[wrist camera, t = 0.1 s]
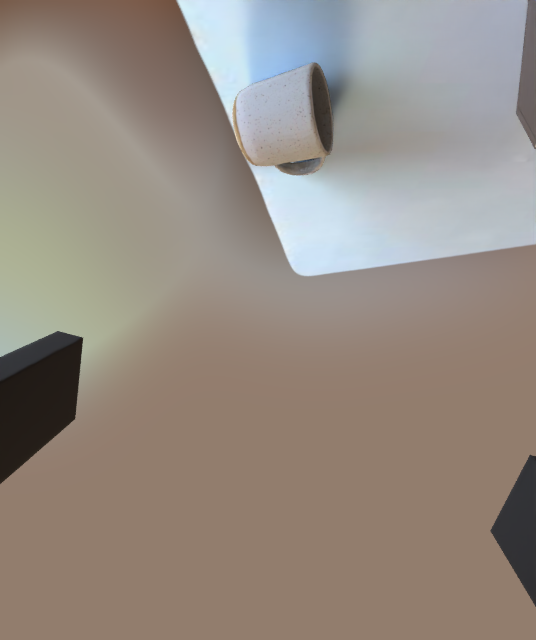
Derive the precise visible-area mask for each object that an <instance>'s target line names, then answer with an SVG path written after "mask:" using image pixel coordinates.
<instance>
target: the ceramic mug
mask: <svg viewBox="0 0 536 640" xmlns="http://www.w3.org/2000/svg"><path fill="white" fill-rule="evenodd" d="M232 117H233V126H234V132H235V135H236V139H237V142H238V145H239V147H240V149H241V151H242V153H243V155H244V156H245V157H246V159H247V160H248V161H249V162H250V163H252V164H253V165H256V166H273V165H275V167H276V168H278V169H279V170H280V171H281V172H284V173H286V174H290V175H308V174H311V173H314V172H316V171H318V170H319V169H320V168H321V167H322V165H323V163H324V161H325V158H326V156H328V155H330V153H331V151H332V146H333V117H332V109H331V102H330V96H329V91H328V86H327V83H326V79H325V76H324V73H323V71H322V69H321V67H320V66H319V65H318V64H317V63H310V64H307V65H304V66H302V67H299V68H296V69H293V70H291V71H288V72H285V73H282V74H279V75H277V76H274V77H272V78H269V79H266V80H263V81H260V82H256V83H254V84H252V85H250V86H248V87H246V88H244V89H243V90H241V91H240V92H239V93H238V94H237V96H236V98H235V100H234V104H233V113H232ZM313 158H317V159H314V160H313V161H308V162H300V163H291V162H294V161H301V160H307V159H313Z"/></svg>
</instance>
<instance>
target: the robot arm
mask: <svg viewBox="0 0 536 640" xmlns="http://www.w3.org/2000/svg"><path fill="white" fill-rule="evenodd" d="M82 343H83V338H82V337H78V336H75V335H70V334H67V333H63V332H59V331H57V332H55V333H53V334H51V335H48V336H46V337H44V338H42V339H39V340H37V341H35V342H33V343H31V344H29V345H26V346H24V347H22V348H19V349H17V350H15V351H13V352H11V353H8V354H6V355H4V356H2V357H0V484H1V483H2V482H3V481H4V480H5V479H7V478H8V477H9V476H10V475H11V474H12V473H13V472H15V471H16V470H17V469H18V468H19V467H20V466H22V465H23V464H24V463H25V462H26V461H27V460H29V459H30V458H31V457H32V456H33V455H34V454H35V453H37V451H39V450H40V449H41V448H42V447H43V446H44V445H46V444H47V443H48V442H49V441H50V440H52V439H53V438H54V437H55V436H56V435H57V434H58V433H60V432H61V431H62V430H63V429H64V428H65V427H66V426H68V425H69V424H70V423H71V422H72V421H73V420H74V419H75V415H76V404H77V393H78V384H79V373H80V364H81V354H82ZM491 533H492V534H493V536H494V538H495V539H496V541H497V543H498V544H499V546H500V548H501V549H502V551H503V553H504V554H505V556H506V558H507V559H508V561H509V563H510V564H511V566H512V568H513V569H514V571H515V573H516V574H517V576H518V578H519V579H520V581H521V583H522V584H523V586H524V588H525V589H526V591H527V593H528V594H529V596H530V598H531V599H532V601H533V603H534V604H535V606H536V456H532V455H530V456H529V458H528V460H527V462H526V464H525V466H524V467H523V469H522V471H521V473H520V475H519V477H518V479H517V481H516V483H515V485H514V487H513V489H512V490H511V492H510V495H509V496H508V498H507V500H506V502H505V504H504V506H503V508H502V510H501V512H500V514H499V516H498V518H497V519H496V521H495V523H494V525H493V527H492V529H491Z"/></svg>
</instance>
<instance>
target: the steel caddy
mask: <svg viewBox="0 0 536 640" xmlns="http://www.w3.org/2000/svg"><path fill="white" fill-rule="evenodd" d="M516 114H517V116H518V118H519V120H520V122H521V124H522V126H523V127H524V129H525V131H526V133H527V135H528V137H529V139H530V141H531V143H532V145H533V147H534V149H536V0H528V9H527V19H526V28H525V37H524V46H523V56H522V65H521V74H520V83H519V93H518V102H517V111H516Z"/></svg>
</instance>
